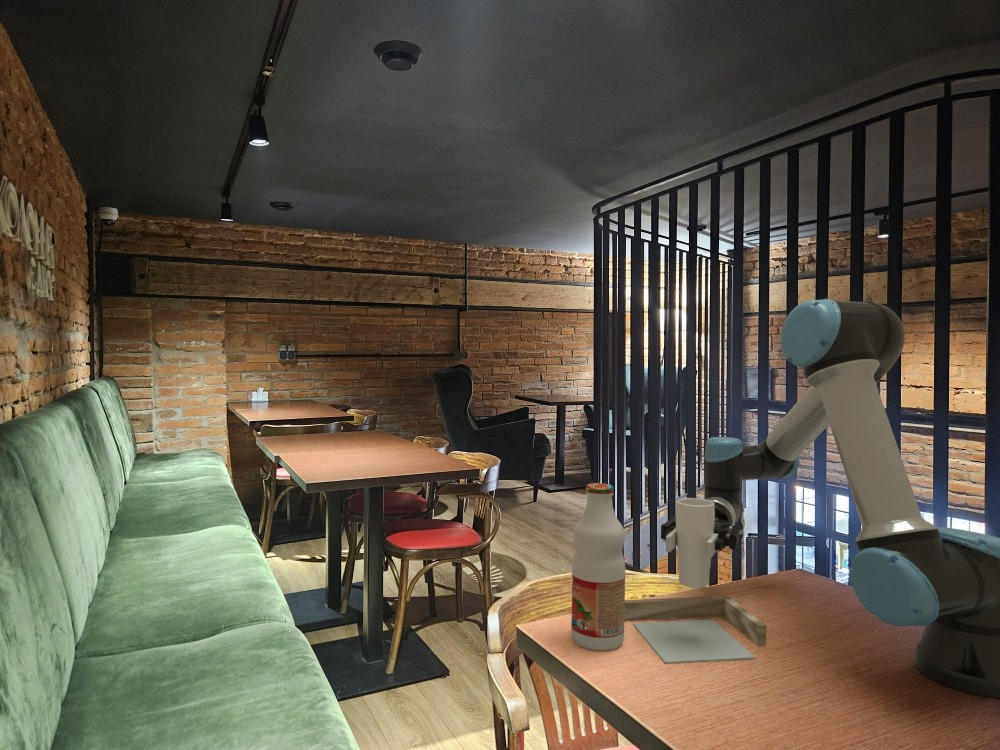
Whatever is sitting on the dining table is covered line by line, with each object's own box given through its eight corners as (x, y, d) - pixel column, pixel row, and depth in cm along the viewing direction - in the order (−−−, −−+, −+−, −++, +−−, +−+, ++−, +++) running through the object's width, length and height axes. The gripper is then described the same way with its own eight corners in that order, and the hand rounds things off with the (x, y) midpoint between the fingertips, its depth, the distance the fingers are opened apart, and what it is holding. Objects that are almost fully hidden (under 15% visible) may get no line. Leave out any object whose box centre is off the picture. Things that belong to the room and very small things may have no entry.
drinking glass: (668, 585, 118) (670, 502, 118) (682, 575, 124) (683, 496, 123) (706, 593, 114) (707, 507, 114) (718, 582, 120) (720, 501, 119)
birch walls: (766, 644, 117) (766, 625, 117) (638, 651, 114) (639, 631, 113) (727, 613, 131) (727, 595, 131) (613, 618, 128) (613, 600, 128)
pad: (755, 659, 111) (755, 657, 111) (665, 663, 109) (665, 661, 109) (712, 621, 127) (712, 619, 127) (633, 624, 125) (633, 623, 125)
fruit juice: (623, 654, 112) (626, 491, 111) (568, 649, 114) (570, 489, 113) (624, 632, 121) (627, 481, 121) (573, 627, 123) (575, 479, 123)
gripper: (763, 544, 130) (746, 578, 110) (666, 531, 139) (633, 559, 119) (764, 506, 130) (747, 533, 109) (666, 495, 139) (634, 518, 119)
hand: (688, 547), depth 114 cm, fingers closed on drinking glass, 6 cm apart
